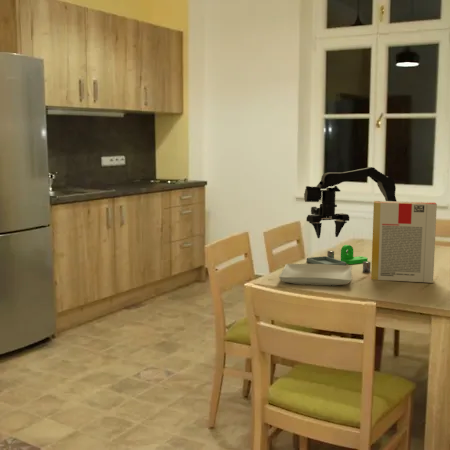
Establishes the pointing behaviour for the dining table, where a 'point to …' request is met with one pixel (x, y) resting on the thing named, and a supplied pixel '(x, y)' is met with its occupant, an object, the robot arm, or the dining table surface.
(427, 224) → the pasta box
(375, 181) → the robot arm
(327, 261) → the parts tray
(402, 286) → the dining table surface
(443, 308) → the dining table surface
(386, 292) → the dining table surface
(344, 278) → the square plate
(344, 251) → the mechanical part
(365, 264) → the spacer posts
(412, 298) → the dining table surface
